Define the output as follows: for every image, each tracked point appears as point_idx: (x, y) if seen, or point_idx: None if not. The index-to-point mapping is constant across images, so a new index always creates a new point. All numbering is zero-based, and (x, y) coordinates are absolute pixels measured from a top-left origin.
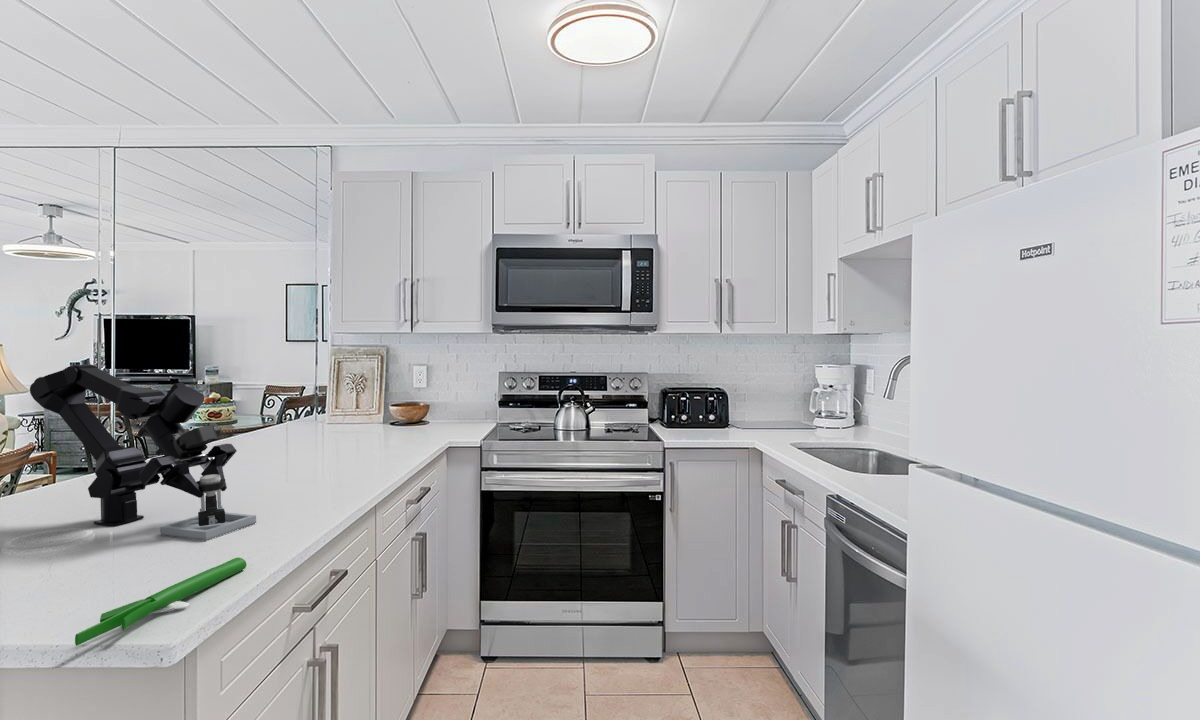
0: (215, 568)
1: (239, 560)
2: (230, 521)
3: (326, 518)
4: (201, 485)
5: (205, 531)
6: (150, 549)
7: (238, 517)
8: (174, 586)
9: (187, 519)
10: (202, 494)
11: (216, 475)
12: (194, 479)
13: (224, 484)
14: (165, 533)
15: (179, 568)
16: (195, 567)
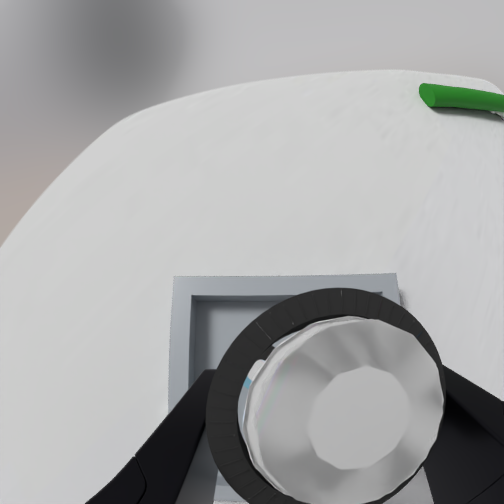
0: (464, 88)
1: (431, 84)
2: None
3: (114, 145)
4: (439, 367)
5: (392, 280)
6: (471, 362)
7: (191, 349)
8: (501, 95)
9: None
10: None
11: (294, 403)
12: (481, 422)
13: (208, 385)
14: None
15: (479, 183)
16: (462, 161)
